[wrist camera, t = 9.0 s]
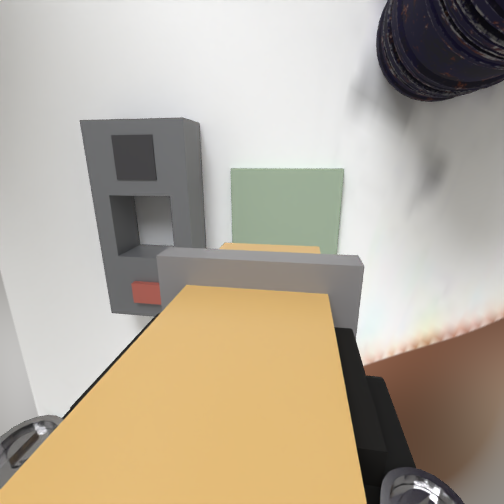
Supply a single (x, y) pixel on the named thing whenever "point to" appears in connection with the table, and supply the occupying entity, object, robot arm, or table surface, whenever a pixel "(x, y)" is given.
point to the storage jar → (441, 46)
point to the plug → (218, 391)
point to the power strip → (142, 184)
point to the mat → (287, 207)
